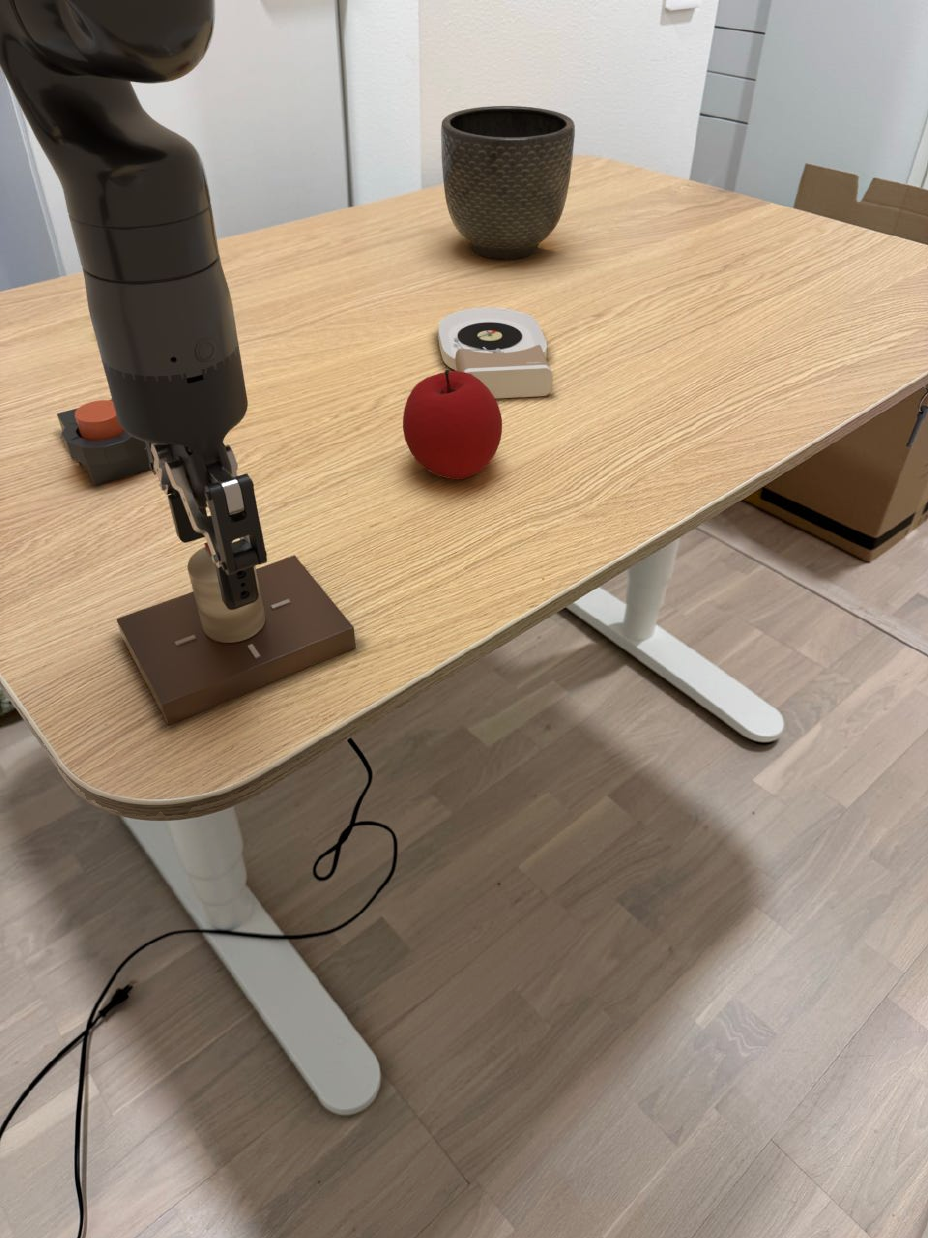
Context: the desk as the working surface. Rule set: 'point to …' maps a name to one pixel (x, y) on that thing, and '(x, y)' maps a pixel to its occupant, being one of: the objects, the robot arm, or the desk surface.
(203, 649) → the dial panel
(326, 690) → the desk surface
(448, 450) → the apple
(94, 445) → the button box
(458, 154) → the planter
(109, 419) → the button
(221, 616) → the dial
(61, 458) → the desk surface
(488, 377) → the record player
